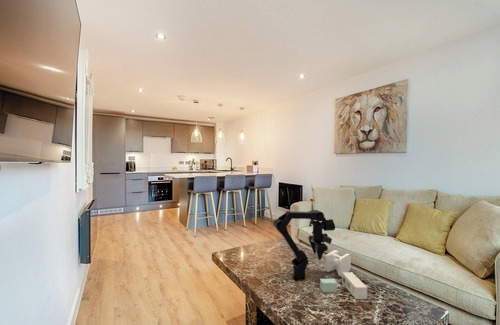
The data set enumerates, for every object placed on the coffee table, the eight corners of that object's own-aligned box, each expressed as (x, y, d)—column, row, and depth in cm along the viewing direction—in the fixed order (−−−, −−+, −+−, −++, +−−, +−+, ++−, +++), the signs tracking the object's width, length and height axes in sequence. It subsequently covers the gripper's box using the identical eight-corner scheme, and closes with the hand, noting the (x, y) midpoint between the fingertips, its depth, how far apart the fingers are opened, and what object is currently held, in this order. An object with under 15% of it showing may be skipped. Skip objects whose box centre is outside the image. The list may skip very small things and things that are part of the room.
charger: (322, 292, 122) (323, 283, 122) (319, 287, 127) (320, 278, 127) (341, 292, 123) (342, 282, 123) (338, 287, 127) (338, 278, 127)
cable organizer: (339, 279, 137) (340, 259, 137) (323, 272, 145) (324, 254, 145) (350, 271, 148) (351, 253, 148) (335, 265, 155) (335, 248, 155)
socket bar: (355, 299, 117) (355, 287, 117) (341, 282, 133) (341, 272, 133) (367, 299, 118) (367, 287, 118) (351, 282, 134) (352, 272, 134)
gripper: (336, 236, 132) (336, 263, 132) (324, 226, 150) (324, 250, 150) (317, 236, 131) (317, 263, 131) (308, 226, 150) (307, 250, 150)
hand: (317, 256), depth 141 cm, fingers open, 9 cm apart
